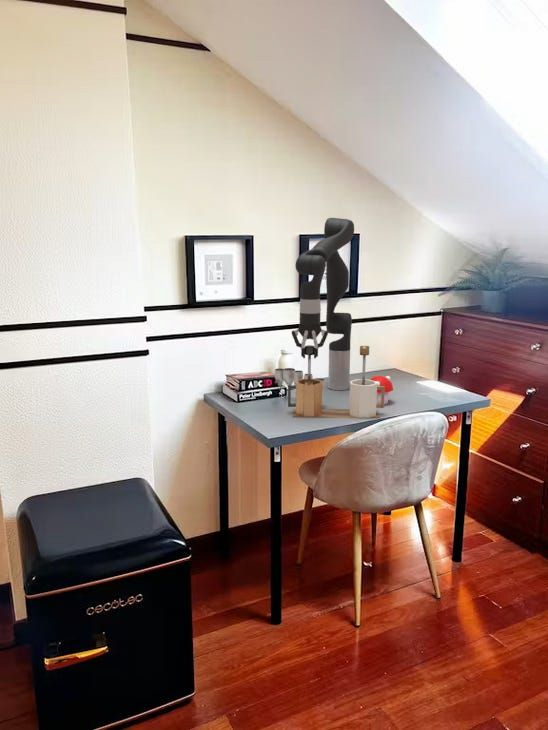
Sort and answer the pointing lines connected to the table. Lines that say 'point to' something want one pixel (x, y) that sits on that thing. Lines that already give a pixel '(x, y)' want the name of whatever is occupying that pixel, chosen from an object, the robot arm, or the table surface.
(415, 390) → the table surface
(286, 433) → the table surface
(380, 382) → the mushroom
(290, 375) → the goblet set
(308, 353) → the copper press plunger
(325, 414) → the board
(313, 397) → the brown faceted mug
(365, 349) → the brown plunger
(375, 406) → the cream press
